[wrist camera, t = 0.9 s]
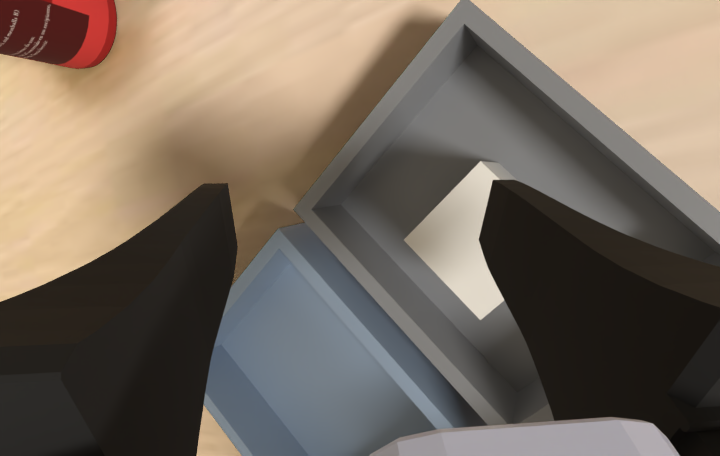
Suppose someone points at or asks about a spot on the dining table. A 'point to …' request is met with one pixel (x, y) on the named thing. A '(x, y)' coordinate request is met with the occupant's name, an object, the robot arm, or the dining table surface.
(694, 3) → the dining table surface
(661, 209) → the grey bin
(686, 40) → the dining table surface
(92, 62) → the canned food
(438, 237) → the cream block
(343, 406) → the slate blue bin
